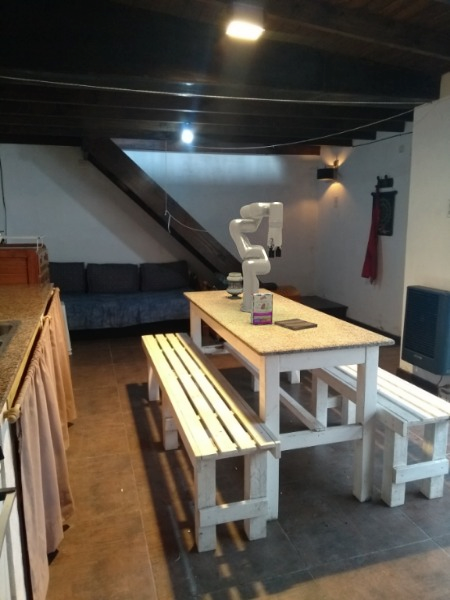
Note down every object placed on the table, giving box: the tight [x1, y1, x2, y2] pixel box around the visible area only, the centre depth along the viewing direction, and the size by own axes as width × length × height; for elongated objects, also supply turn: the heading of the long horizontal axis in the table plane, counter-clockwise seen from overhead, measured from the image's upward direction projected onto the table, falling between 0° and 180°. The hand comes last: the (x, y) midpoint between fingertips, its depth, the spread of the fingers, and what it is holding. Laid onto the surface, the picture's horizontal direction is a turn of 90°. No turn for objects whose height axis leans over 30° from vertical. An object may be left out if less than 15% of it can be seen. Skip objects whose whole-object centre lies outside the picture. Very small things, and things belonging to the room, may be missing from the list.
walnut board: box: [273, 317, 318, 331], centre depth 234 cm, size 16×16×2 cm
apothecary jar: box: [226, 272, 243, 301], centre depth 312 cm, size 12×12×18 cm
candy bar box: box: [250, 292, 274, 326], centre depth 236 cm, size 11×5×16 cm, turn 105°
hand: (274, 257), depth 242 cm, fingers open, 9 cm apart
